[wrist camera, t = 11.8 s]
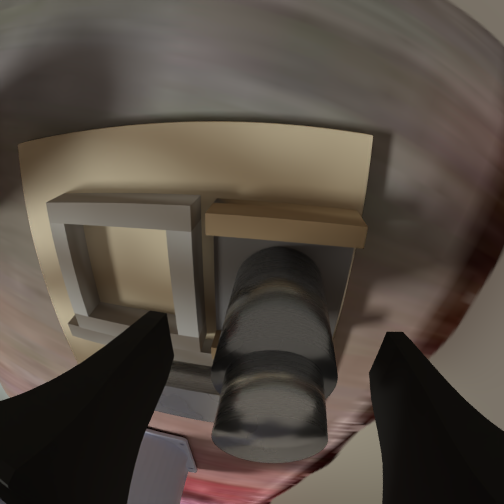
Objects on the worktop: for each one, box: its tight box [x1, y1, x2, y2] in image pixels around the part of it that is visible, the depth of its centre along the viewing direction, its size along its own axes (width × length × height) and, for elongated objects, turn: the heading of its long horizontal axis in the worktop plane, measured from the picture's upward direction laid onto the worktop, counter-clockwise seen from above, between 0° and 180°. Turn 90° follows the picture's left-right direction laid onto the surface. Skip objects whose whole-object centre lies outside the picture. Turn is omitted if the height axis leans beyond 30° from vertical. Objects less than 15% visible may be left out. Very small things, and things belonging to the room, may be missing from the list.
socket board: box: [18, 121, 373, 367], centre depth 14 cm, size 17×17×3 cm
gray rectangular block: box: [155, 360, 220, 423], centre depth 15 cm, size 3×6×2 cm, turn 88°
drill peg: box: [211, 247, 338, 463], centre depth 9 cm, size 4×4×7 cm
